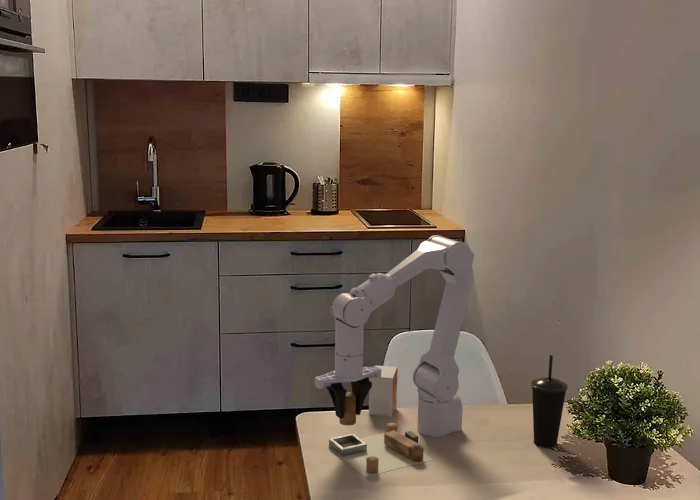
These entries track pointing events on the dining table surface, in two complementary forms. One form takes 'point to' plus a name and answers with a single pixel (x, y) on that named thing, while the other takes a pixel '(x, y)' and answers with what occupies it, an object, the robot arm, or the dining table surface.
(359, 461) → the seat board
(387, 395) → the small box
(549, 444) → the drinking cup
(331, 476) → the dining table surface
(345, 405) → the loose leg
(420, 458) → the folding leg
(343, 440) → the socket
